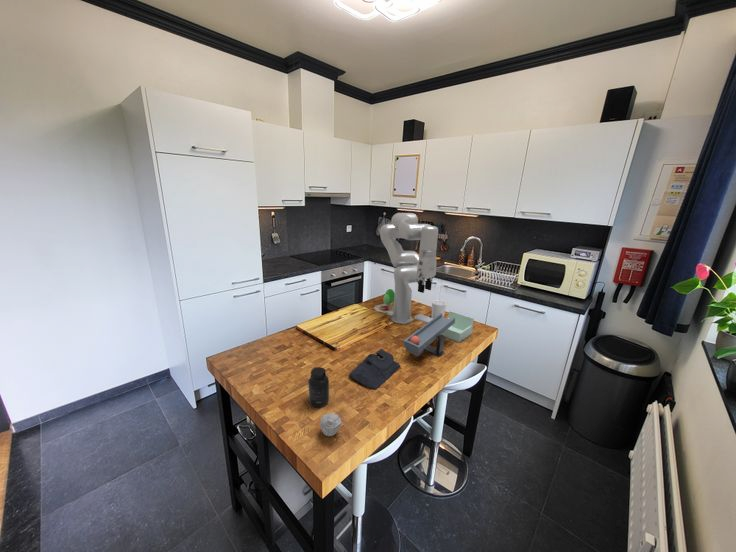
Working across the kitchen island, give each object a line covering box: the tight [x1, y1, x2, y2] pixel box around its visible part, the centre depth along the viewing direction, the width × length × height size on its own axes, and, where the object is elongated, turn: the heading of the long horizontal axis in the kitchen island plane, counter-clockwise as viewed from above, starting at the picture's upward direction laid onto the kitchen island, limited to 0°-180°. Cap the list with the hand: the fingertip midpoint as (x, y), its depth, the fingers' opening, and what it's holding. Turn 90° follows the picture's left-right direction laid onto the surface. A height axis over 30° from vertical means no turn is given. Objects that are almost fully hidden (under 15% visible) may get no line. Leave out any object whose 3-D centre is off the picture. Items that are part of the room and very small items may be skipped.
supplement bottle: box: [307, 366, 330, 408], centre depth 97 cm, size 7×7×12 cm
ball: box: [410, 336, 420, 345], centre depth 122 cm, size 4×4×4 cm
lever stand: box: [417, 326, 445, 358], centre depth 132 cm, size 13×5×9 cm, turn 46°
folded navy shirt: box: [348, 348, 402, 390], centre depth 116 cm, size 15×22×5 cm
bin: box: [441, 310, 475, 344], centre depth 148 cm, size 14×14×9 cm
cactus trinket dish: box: [373, 288, 395, 314], centre depth 178 cm, size 15×14×14 cm
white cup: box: [431, 299, 447, 318], centre depth 166 cm, size 8×8×10 cm
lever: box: [403, 313, 455, 357], centre depth 134 cm, size 16×30×5 cm, turn 136°
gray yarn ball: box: [319, 413, 342, 437], centre depth 85 cm, size 6×7×7 cm
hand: (424, 290), depth 137 cm, fingers open, 5 cm apart
